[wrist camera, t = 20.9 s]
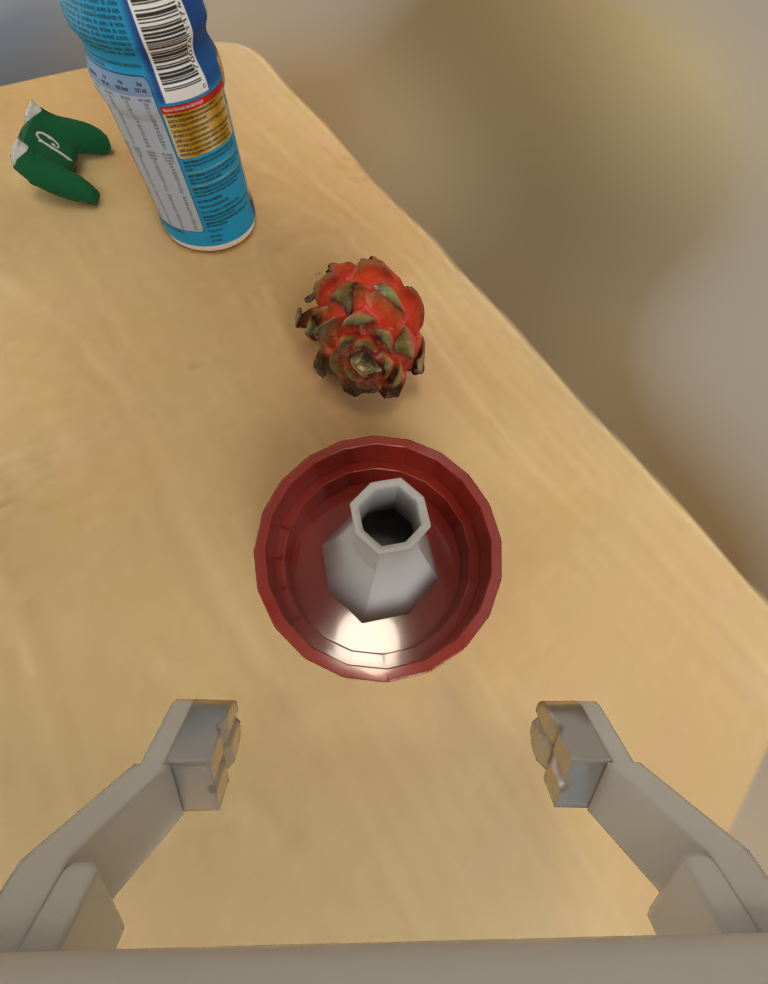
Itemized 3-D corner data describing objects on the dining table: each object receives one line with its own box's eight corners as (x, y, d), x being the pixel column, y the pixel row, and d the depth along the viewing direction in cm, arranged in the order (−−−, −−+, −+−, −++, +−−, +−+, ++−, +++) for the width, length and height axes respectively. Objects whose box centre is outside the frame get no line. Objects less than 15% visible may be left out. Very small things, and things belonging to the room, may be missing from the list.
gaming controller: (103, 167, 41) (26, 116, 36) (114, 135, 38) (34, 77, 34) (88, 228, 37) (2, 180, 33) (100, 198, 35) (9, 142, 31)
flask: (356, 645, 23) (353, 645, 14) (303, 540, 25) (269, 480, 16) (457, 584, 25) (514, 548, 16) (399, 491, 27) (419, 410, 18)
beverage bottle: (155, 253, 34) (-87, -209, 16) (174, 190, 37) (-9, -258, 19) (252, 259, 35) (129, -184, 16) (264, 196, 38) (171, -236, 19)
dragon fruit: (381, 443, 31) (338, 343, 36) (474, 373, 27) (411, 275, 33) (303, 397, 24) (264, 283, 29) (414, 298, 21) (347, 190, 26)
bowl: (253, 660, 23) (226, 664, 18) (295, 460, 28) (281, 424, 23) (474, 684, 23) (502, 694, 19) (477, 482, 28) (501, 450, 24)
